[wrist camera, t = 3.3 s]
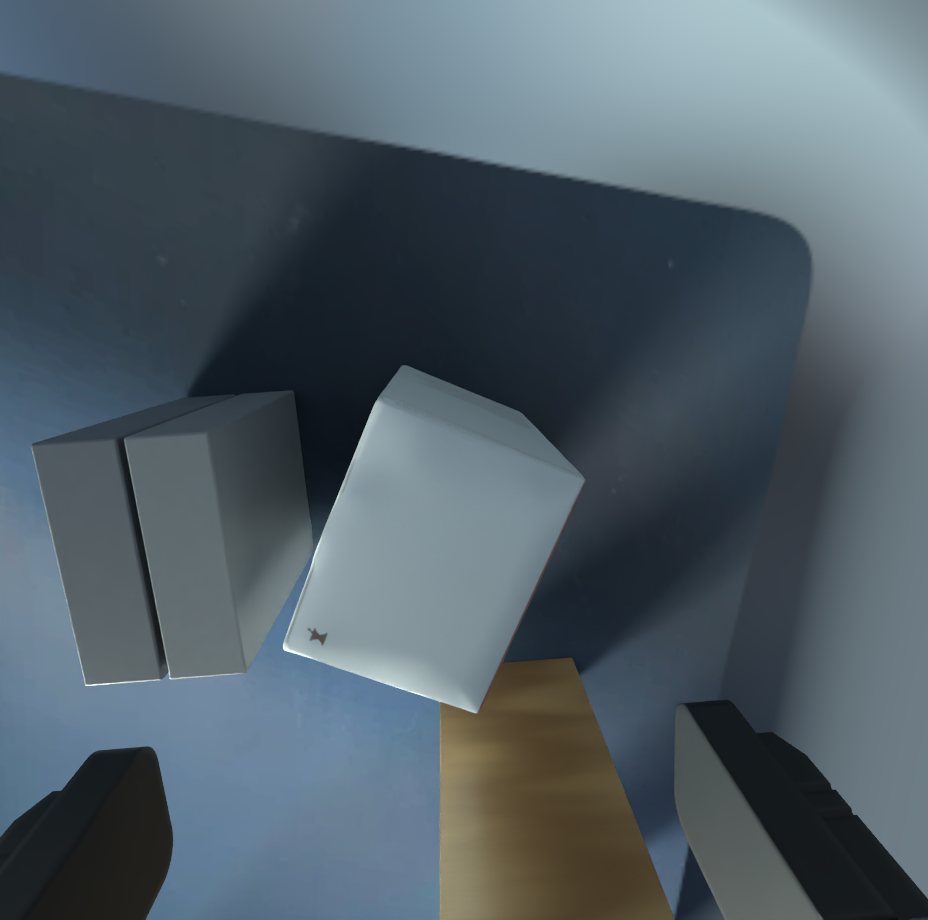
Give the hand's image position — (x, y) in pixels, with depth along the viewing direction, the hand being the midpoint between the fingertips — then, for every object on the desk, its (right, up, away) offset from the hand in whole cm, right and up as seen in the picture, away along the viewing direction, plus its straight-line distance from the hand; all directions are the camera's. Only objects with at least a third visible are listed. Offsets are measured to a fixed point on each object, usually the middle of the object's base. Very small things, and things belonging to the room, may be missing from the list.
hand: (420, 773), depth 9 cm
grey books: (-10, +4, +20) cm, 23 cm away
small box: (-1, +5, +21) cm, 21 cm away
